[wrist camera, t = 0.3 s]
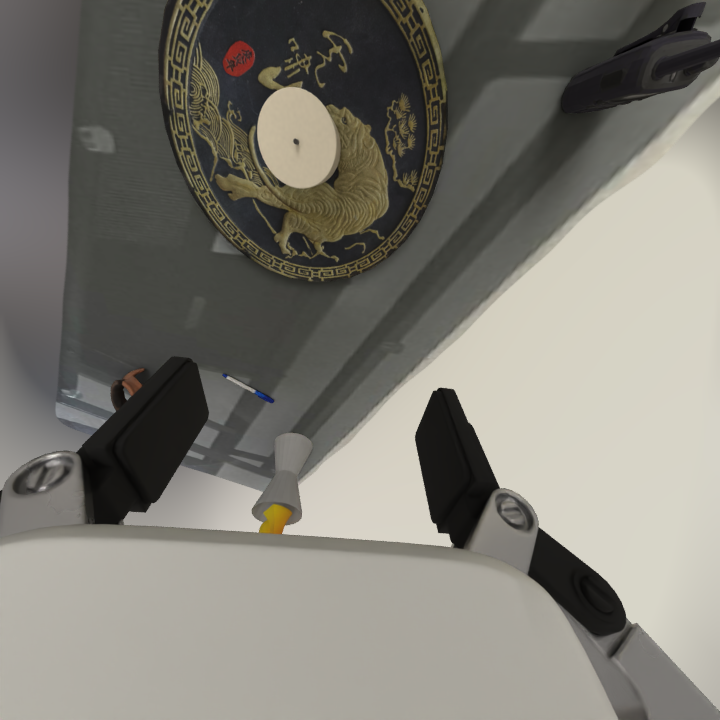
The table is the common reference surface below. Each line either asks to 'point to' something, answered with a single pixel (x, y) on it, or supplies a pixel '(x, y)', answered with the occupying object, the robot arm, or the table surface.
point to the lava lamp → (283, 485)
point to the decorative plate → (344, 104)
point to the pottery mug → (128, 383)
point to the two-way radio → (646, 66)
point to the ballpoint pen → (249, 389)
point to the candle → (298, 138)
